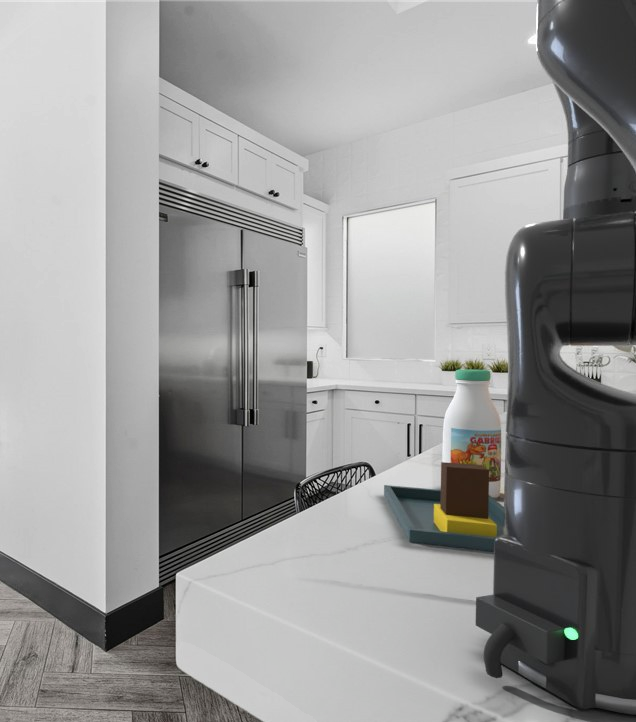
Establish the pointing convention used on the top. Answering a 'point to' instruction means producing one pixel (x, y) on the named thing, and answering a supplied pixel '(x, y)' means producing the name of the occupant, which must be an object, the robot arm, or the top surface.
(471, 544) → the tray
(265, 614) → the top surface
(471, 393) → the milk bottle
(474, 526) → the block on yellow base
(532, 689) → the top surface
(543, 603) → the robot arm
